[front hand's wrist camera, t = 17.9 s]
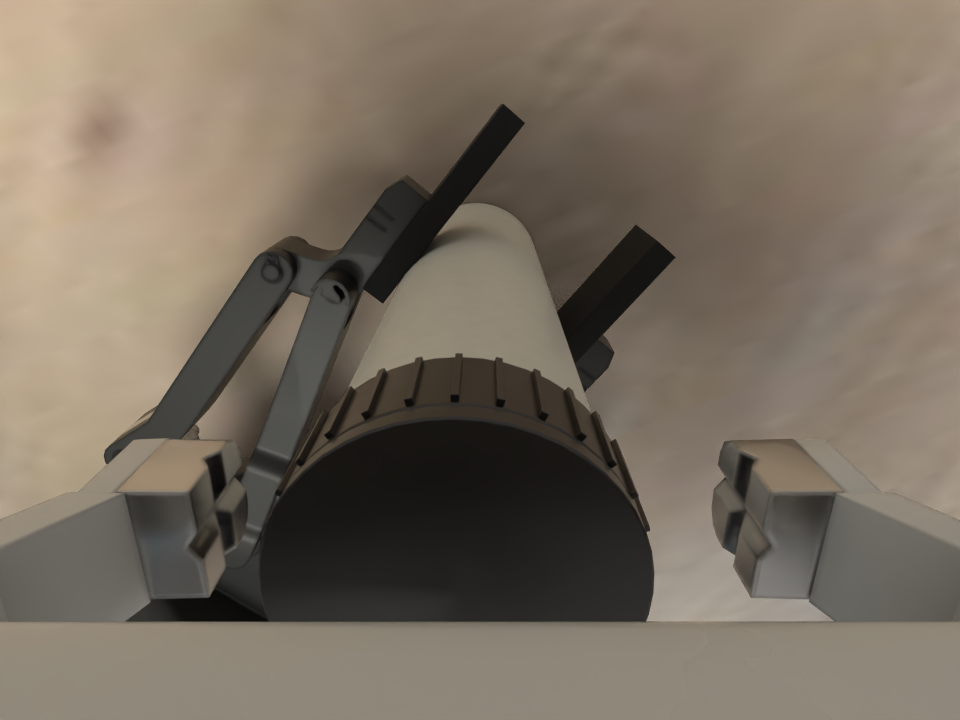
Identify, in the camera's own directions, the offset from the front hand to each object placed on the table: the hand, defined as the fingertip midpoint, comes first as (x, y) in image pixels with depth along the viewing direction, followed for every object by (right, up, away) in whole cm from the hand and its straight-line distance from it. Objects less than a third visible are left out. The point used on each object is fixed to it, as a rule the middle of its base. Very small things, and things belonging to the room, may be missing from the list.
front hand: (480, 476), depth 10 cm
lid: (0, -1, -1) cm, 2 cm away
